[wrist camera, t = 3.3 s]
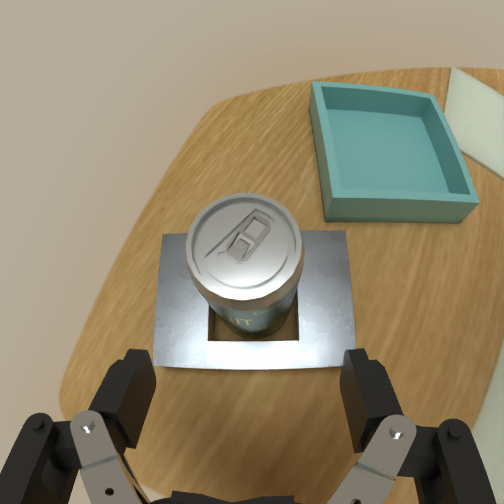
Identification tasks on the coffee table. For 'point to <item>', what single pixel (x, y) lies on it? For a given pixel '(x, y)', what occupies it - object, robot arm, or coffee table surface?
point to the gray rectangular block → (265, 352)
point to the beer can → (246, 261)
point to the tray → (387, 156)
